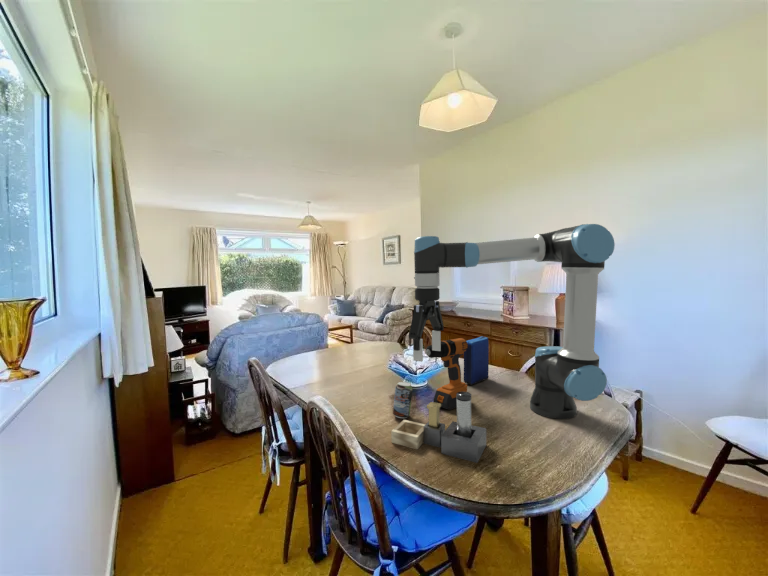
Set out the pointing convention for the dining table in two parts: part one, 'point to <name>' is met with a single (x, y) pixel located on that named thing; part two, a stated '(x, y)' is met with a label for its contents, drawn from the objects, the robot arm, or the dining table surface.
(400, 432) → the wooden tray
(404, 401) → the beverage can
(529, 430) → the dining table surface
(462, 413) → the capped tube
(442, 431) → the socket block
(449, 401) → the power drill
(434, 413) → the tan wooden peg
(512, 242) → the robot arm
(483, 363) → the book
